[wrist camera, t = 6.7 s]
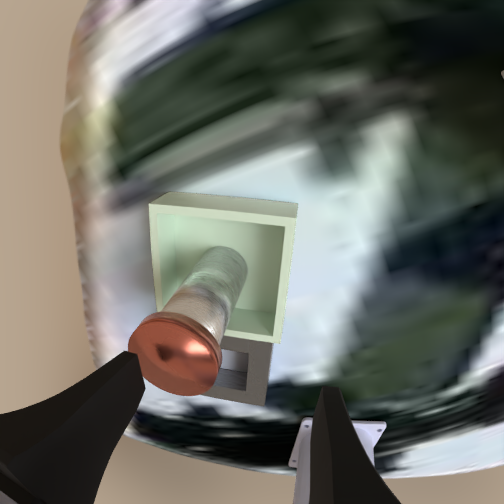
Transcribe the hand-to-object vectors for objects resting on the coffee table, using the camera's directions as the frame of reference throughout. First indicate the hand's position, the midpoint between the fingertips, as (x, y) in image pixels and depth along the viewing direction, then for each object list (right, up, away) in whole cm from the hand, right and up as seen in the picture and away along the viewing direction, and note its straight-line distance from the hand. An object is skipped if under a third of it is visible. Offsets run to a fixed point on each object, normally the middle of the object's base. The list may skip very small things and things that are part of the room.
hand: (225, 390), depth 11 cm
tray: (0, +5, +9) cm, 11 cm away
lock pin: (-1, +4, +9) cm, 10 cm away
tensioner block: (-1, -2, +13) cm, 13 cm away
